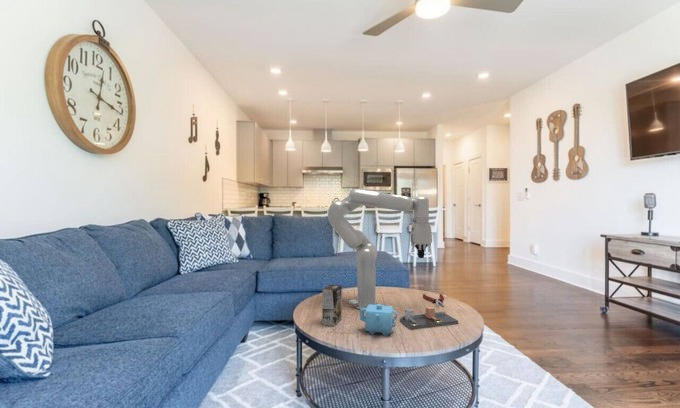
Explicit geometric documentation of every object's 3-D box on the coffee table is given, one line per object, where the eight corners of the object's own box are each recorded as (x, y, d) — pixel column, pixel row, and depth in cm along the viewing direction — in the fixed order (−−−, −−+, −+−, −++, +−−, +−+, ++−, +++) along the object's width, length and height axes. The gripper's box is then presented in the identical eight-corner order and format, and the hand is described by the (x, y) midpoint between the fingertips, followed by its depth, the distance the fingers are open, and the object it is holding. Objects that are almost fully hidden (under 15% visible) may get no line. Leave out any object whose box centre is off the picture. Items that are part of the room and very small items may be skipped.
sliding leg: (432, 321, 139) (432, 311, 139) (425, 316, 145) (425, 306, 145) (438, 320, 140) (438, 310, 140) (431, 315, 146) (431, 306, 146)
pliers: (430, 308, 163) (430, 303, 163) (422, 297, 183) (422, 293, 183) (452, 309, 162) (452, 304, 162) (441, 297, 182) (441, 293, 182)
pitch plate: (410, 329, 134) (410, 315, 134) (399, 321, 143) (399, 307, 143) (458, 323, 140) (458, 309, 141) (444, 316, 150) (444, 303, 150)
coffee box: (335, 326, 137) (335, 290, 137) (321, 324, 139) (321, 288, 139) (342, 319, 146) (342, 285, 146) (329, 317, 148) (329, 283, 148)
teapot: (398, 325, 139) (398, 300, 139) (396, 342, 121) (396, 313, 121) (363, 322, 142) (363, 297, 142) (356, 338, 125) (356, 310, 125)
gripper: (411, 222, 152) (411, 259, 152) (438, 221, 156) (438, 258, 156) (404, 221, 159) (404, 257, 159) (429, 220, 164) (429, 255, 163)
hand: (420, 257), depth 158 cm, fingers closed
